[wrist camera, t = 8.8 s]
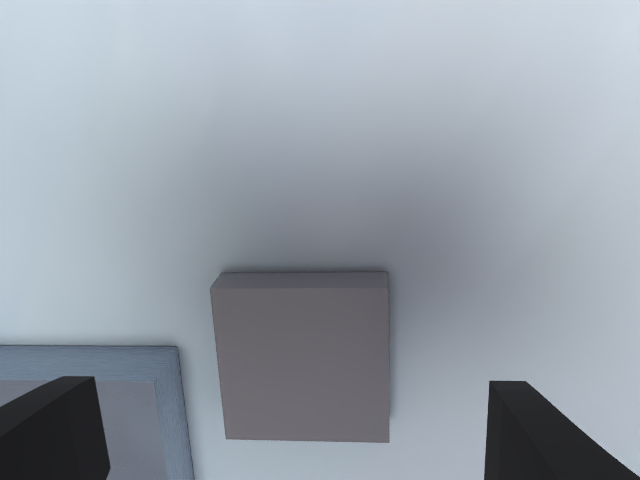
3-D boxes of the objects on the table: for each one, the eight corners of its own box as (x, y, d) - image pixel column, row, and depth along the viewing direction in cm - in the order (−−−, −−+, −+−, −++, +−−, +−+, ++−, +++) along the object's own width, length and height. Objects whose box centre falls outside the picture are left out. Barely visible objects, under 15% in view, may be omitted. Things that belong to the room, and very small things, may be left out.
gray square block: (388, 417, 22) (389, 442, 21) (235, 415, 23) (225, 439, 21) (387, 271, 20) (388, 288, 19) (221, 272, 21) (209, 288, 20)
